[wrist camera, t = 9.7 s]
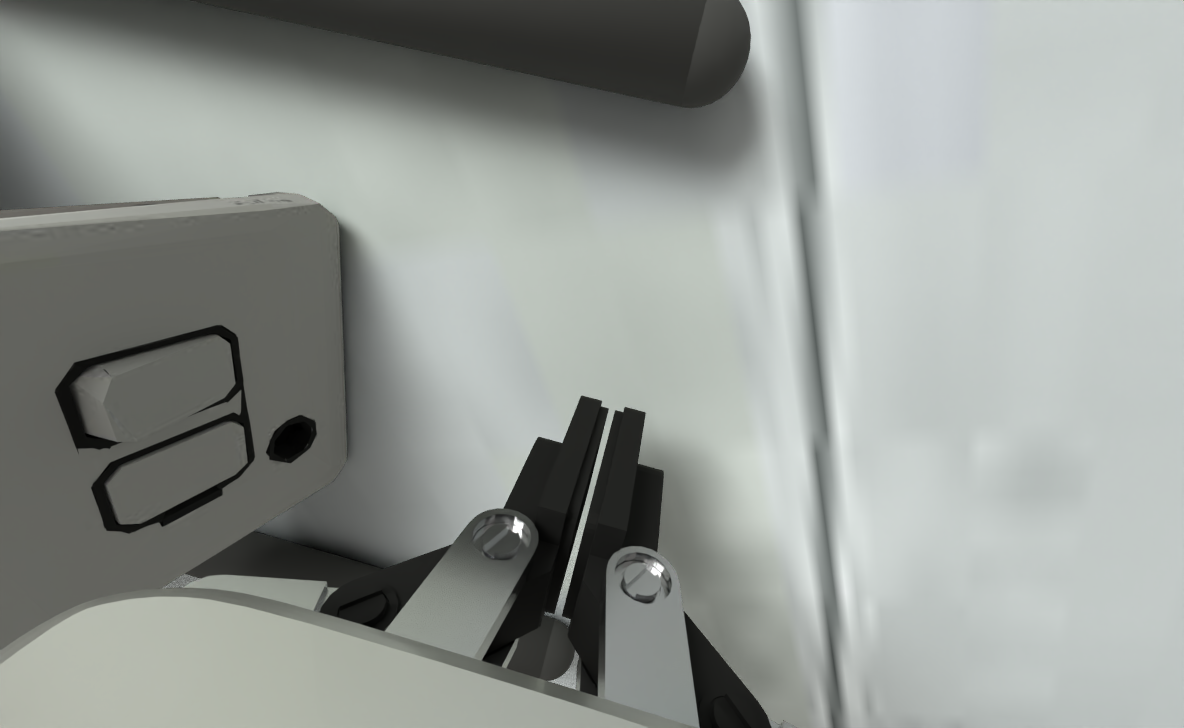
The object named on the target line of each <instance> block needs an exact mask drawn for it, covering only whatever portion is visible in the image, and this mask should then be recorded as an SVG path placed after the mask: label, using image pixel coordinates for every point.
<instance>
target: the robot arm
mask: <svg viewBox="0 0 1184 728" xmlns="http://www.w3.org/2000/svg"><path fill="white" fill-rule="evenodd" d="M601 404H602V401H600V400H597V399H593V398H589V397H585V396H581V398H580V400H579V403H578V405H577V408H576V410H575V413H574V415H573V418H572V420H571V423H570V426H569V428H568V431H567V433H566V436H565V438H564V441H563V443H560V442H556V441H552V440H549V439H545V438H541V437H538V438H537V440H536V442H535V444H534V446H533V448H532V450H531V452H530V454H529V456H528V458H527V460H526V462H525V465H524V467H523V469H522V471H521V473H520V475H519V477H518V479H517V481H516V483H515V486H514V488H513V490H512V492H511V494H510V496H509V498H508V500H507V502H506V504H505V506H504V509H499V508H497V509H492V510H487V511H485V512H483V513H481V514H479V515H477V516H476V517H475V518H474V519H473V520H472V521H471V522H470V523H469V524H468V525H467V526H466V528H465V529H464V530H463V532H462V533H461V534H460V535H459V537H458V538H457V539H456V541H455V542H454V543H453V544H452V545H449V546H446V547H443V548H441V549H438V550H435V551H432V552H430V553H427V554H424V555H421V556H418V557H416V558H413V559H410V560H407V561H405V562H402V563H399V564H396V565H393V566H391V567H388V568H385V569H382V570H380V571H377V572H374V573H371V574H368V575H366V576H363V577H360V578H357V579H355V580H352V581H350V582H348V583H346V584H344V585H342V586H341V587H339V588H330V587H327V582H326V581H311V580H297V579H282V578H267V577H252V576H237V575H214V576H207V577H204V578H201V579H198V580H195V581H193V582H191V583H189V584H188V585H186V586H184V587H183V588H161V589H147V590H137V591H131V592H124V593H119V594H114V595H109V596H105V597H100V598H97V599H94V600H91V601H88V602H85V603H82V604H79V605H77V606H75V607H73V608H71V609H68V610H66V611H64V612H62V613H60V614H58V615H56V616H54V617H52V618H51V619H49V620H47V621H45V622H43V623H42V624H40V625H38V626H37V627H35V628H33V629H32V630H30V631H29V632H27V633H25V634H24V635H22V636H21V637H19V638H18V639H16V640H15V641H13V642H12V643H10V644H9V645H7V646H6V647H5V648H3V649H2V650H0V728H797V727H795V726H793V725H792V724H790V723H788V722H786V721H784V720H783V722H782V723H781V725H779V724H777V723H776V722H774V721H772V720H770V719H768V717H767V715H766V713H765V712H764V710H763V709H762V707H761V705H760V704H759V702H758V701H757V700H756V699H755V697H754V696H753V695H752V694H751V692H750V691H749V690H748V689H747V688H746V686H745V685H744V684H743V683H742V681H741V680H740V679H739V678H738V677H737V675H736V674H735V673H734V672H733V670H732V669H731V668H730V667H729V666H728V664H727V663H726V662H725V661H724V659H723V658H722V657H721V656H720V655H719V653H718V652H717V651H716V650H715V648H714V647H713V646H712V645H711V644H710V642H709V641H708V640H707V639H706V637H705V636H704V635H703V634H702V633H701V631H700V630H699V629H698V628H697V626H696V625H695V624H694V623H693V622H692V620H691V619H690V618H689V617H688V615H687V614H686V613H685V612H684V611H683V603H682V596H681V589H680V582H679V579H678V576H677V572H676V571H675V569H674V568H673V566H672V565H671V563H670V562H669V561H668V560H667V559H665V558H664V557H663V556H662V555H661V554H659V553H657V549H658V537H659V525H660V514H661V502H662V490H663V478H664V472H663V471H662V470H659V469H655V468H651V467H648V466H644V465H640V464H638V458H639V452H640V445H641V439H642V433H643V426H644V420H645V414H646V413H645V412H642V411H638V410H634V409H631V408H627V407H625V408H624V412H620V411H616V410H615V414H614V417H613V421H612V425H611V429H610V433H609V436H608V440H607V444H606V448H605V452H604V456H603V459H602V463H601V467H600V471H599V475H598V479H597V482H596V486H595V490H594V494H593V498H592V501H591V505H590V509H589V513H588V517H587V521H586V524H585V528H584V532H583V536H582V540H581V544H580V548H579V552H578V555H577V559H576V563H575V567H574V571H573V575H572V579H571V583H570V587H569V590H568V594H567V598H566V602H565V606H564V610H563V614H562V617H566V618H569V619H571V622H570V626H569V630H568V634H567V635H568V638H569V640H570V642H571V643H572V645H573V647H574V648H575V650H576V651H577V653H578V655H579V660H578V665H577V676H576V690H575V689H571V688H568V687H565V686H562V685H558V684H555V683H552V682H549V681H545V680H542V679H539V678H536V677H532V676H529V675H526V674H523V673H519V672H516V671H513V670H510V669H506V668H507V666H508V664H509V662H510V660H511V658H512V656H513V654H514V652H515V650H516V648H517V644H518V641H519V638H520V637H522V636H524V635H526V634H528V633H529V632H531V631H533V630H535V629H537V628H538V627H540V626H541V623H542V620H543V616H544V613H545V611H546V612H549V613H552V614H554V612H555V609H556V605H557V602H558V598H559V595H560V591H561V587H562V584H563V580H564V577H565V573H566V569H567V566H568V562H569V559H570V555H571V551H572V548H573V544H574V541H575V537H576V533H577V530H578V526H579V523H580V519H581V515H582V512H583V508H584V505H585V501H586V497H587V493H588V490H589V486H590V482H591V478H592V474H593V470H594V466H595V462H596V458H597V454H598V450H599V446H600V442H601V438H602V434H603V430H604V426H605V422H606V418H607V414H608V409H609V408H605V407H601Z"/></svg>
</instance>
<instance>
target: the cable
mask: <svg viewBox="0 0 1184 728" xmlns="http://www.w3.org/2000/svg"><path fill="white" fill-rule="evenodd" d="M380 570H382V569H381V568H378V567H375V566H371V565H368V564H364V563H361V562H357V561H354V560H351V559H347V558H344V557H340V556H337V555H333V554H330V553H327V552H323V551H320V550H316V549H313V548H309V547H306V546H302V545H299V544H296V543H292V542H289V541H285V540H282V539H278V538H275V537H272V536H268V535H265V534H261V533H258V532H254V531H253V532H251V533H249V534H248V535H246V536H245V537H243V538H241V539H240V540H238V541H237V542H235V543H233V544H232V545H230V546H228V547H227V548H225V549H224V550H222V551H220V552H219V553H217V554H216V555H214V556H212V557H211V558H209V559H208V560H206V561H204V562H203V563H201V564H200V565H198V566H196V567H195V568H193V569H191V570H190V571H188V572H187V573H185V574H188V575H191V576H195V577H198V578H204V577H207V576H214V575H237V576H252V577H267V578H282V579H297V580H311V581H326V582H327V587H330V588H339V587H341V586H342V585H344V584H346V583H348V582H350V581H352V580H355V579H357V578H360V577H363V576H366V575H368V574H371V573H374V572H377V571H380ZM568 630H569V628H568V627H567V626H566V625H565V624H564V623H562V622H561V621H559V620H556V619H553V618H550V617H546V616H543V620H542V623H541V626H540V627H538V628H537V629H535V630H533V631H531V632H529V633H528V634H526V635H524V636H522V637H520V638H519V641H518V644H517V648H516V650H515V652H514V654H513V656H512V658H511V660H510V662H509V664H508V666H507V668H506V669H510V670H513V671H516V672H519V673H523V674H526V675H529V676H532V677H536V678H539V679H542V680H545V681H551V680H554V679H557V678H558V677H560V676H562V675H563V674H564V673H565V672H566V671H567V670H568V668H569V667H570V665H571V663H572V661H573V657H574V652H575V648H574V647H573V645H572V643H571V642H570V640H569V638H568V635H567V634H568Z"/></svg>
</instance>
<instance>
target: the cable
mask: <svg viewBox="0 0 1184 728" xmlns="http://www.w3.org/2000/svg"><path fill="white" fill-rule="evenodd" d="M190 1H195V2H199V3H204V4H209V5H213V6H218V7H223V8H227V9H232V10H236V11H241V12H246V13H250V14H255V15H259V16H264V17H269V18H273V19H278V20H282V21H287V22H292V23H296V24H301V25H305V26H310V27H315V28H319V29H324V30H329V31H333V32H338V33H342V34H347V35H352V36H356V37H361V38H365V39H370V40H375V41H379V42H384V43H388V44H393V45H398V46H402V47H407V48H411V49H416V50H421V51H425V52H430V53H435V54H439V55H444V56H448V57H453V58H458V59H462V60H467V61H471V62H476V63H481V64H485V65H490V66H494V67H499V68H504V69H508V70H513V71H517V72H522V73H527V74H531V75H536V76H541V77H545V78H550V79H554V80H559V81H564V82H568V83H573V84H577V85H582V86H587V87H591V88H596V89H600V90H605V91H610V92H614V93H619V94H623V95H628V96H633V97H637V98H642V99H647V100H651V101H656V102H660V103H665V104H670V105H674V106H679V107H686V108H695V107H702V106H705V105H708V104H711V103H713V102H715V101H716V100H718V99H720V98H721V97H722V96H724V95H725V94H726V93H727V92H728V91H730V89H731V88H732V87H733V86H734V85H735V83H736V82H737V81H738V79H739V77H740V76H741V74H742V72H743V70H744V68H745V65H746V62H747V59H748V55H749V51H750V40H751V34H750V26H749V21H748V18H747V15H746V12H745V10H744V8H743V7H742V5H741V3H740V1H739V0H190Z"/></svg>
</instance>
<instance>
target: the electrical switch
mask: <svg viewBox="0 0 1184 728" xmlns="http://www.w3.org/2000/svg"><path fill="white" fill-rule="evenodd" d="M346 460H347V431H346V404H345V376H344V349H343V321H342V294H341V266H340V239H339V224H338V221H337V219H336V217H335V216H334V215H333V214H332V213H330V212H329V211H328V210H327V209H325V208H324V207H323V206H322V205H321V204H319V203H317V202H315V201H313V200H311V199H309V198H307V197H305V196H302V195H300V194H294V193H281V192H275V193H266V194H257V195H249V196H248V197H238V198H223V199H221V198H218V197H211V198H195V199H178V200H162V201H145V202H129V203H112V204H95V205H79V206H62V207H46V208H29V209H13V210H0V650H2V649H3V648H5V647H6V646H7V645H9V644H10V643H12V642H13V641H15V640H16V639H18V638H19V637H21V636H22V635H24V634H25V633H27V632H29V631H30V630H32V629H33V628H35V627H37V626H38V625H40V624H42V623H43V622H45V621H47V620H49V619H51V618H52V617H54V616H56V615H58V614H60V613H62V612H64V611H66V610H68V609H71V608H73V607H75V606H77V605H79V604H82V603H85V602H88V601H91V600H94V599H97V598H100V597H105V596H109V595H114V594H119V593H124V592H131V591H137V590H147V589H161V588H163V587H164V586H166V585H167V584H169V583H171V582H172V581H174V580H175V579H177V578H179V577H180V576H182V575H183V574H185V573H187V572H188V571H190V570H191V569H193V568H195V567H196V566H198V565H200V564H201V563H203V562H204V561H206V560H208V559H209V558H211V557H212V556H214V555H216V554H217V553H219V552H220V551H222V550H224V549H225V548H227V547H228V546H230V545H232V544H233V543H235V542H237V541H238V540H240V539H241V538H243V537H245V536H246V535H248V534H249V533H251V532H253V531H254V530H256V529H257V528H259V527H261V526H262V525H264V524H265V523H267V522H269V521H270V520H272V519H273V518H275V517H277V516H278V515H280V514H282V513H283V512H285V511H286V510H288V509H290V508H291V507H293V506H294V505H296V504H298V503H299V502H301V501H302V500H304V499H306V498H307V497H309V496H310V495H312V494H314V493H315V492H317V491H319V490H320V489H322V488H323V487H325V486H327V485H328V484H330V483H331V482H333V481H334V480H335V478H336V477H337V475H338V474H339V472H340V471H341V469H342V468H343V466H344V465H345V463H346Z"/></svg>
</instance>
